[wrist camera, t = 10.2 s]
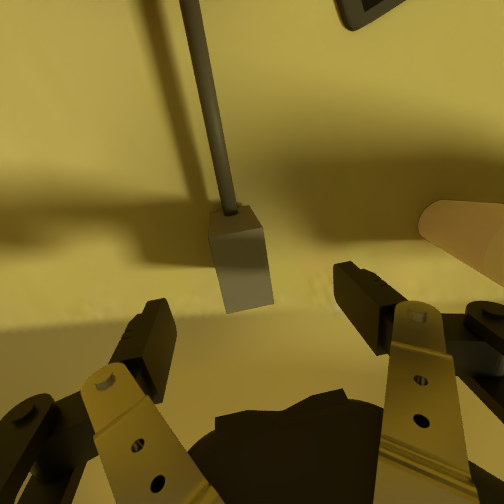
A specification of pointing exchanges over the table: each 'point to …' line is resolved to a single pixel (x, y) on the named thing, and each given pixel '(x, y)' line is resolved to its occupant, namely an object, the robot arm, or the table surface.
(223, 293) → the block
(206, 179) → the table surface
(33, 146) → the table surface
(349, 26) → the cell phone
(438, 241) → the smoothie
